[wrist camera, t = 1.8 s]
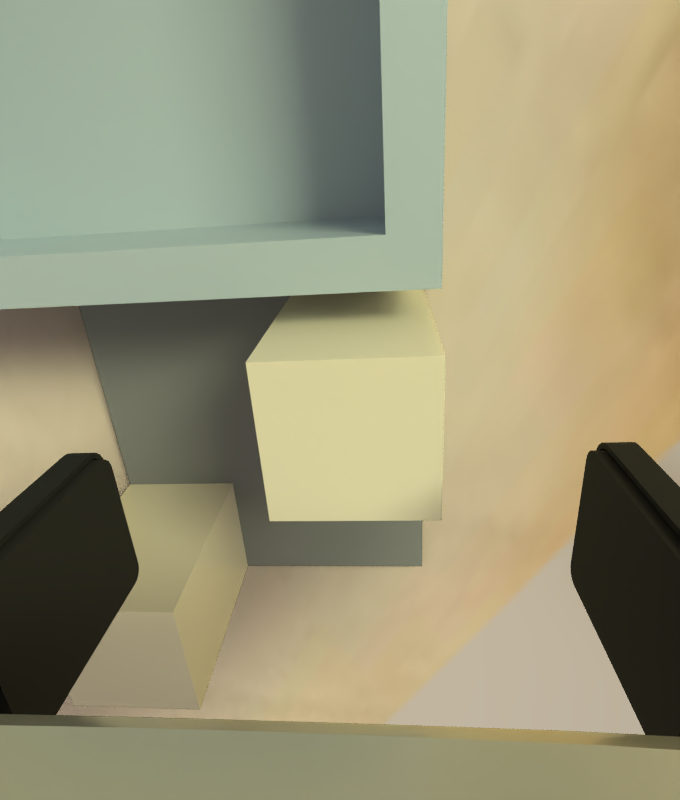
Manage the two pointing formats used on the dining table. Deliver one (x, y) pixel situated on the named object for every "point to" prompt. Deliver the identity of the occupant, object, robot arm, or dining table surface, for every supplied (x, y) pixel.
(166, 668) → the stone
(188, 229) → the blue bin
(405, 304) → the stone
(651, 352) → the dining table surface
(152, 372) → the dark mat
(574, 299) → the dining table surface
